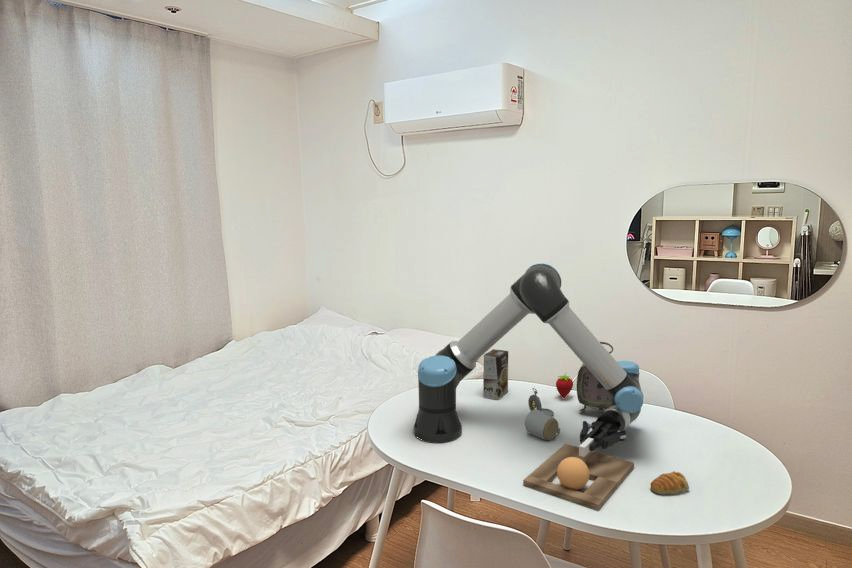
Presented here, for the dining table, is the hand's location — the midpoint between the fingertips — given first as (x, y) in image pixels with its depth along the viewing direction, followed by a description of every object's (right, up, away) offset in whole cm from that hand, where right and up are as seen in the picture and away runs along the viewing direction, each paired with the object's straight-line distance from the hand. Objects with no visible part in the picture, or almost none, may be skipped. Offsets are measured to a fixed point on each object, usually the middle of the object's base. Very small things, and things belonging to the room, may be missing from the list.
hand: (581, 451), depth 153 cm
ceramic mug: (-5, -3, +27) cm, 27 cm away
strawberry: (+9, +3, +56) cm, 57 cm away
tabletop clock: (+18, +1, +42) cm, 46 cm away
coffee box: (-15, +3, +61) cm, 63 cm away
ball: (-4, -4, -5) cm, 8 cm away
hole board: (0, -7, +1) cm, 7 cm away
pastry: (+21, -8, -6) cm, 23 cm away
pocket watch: (-3, 0, +41) cm, 42 cm away
